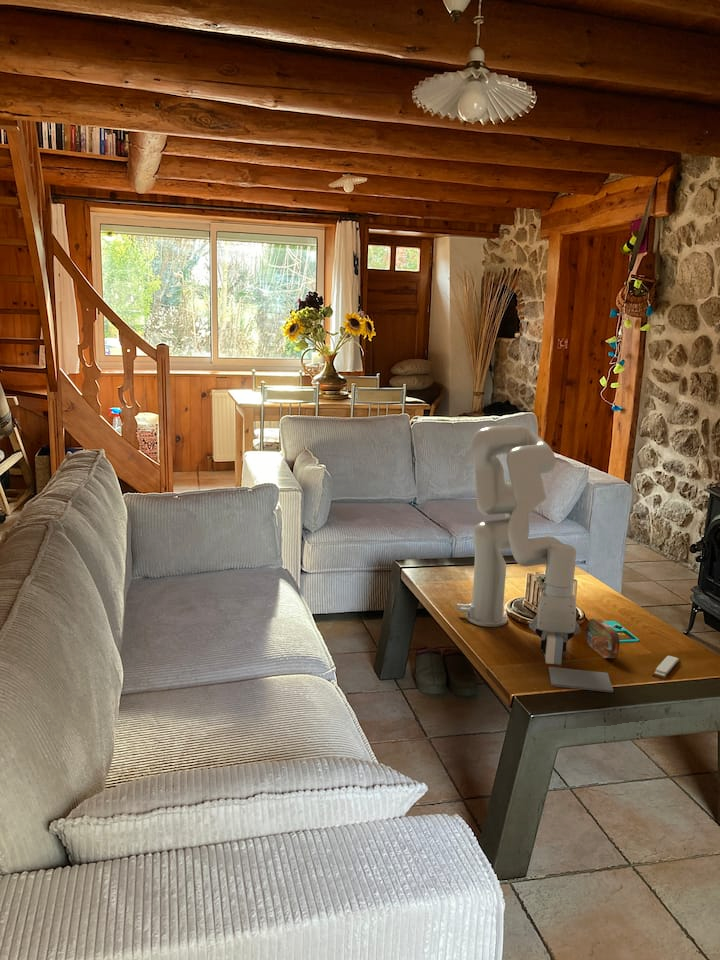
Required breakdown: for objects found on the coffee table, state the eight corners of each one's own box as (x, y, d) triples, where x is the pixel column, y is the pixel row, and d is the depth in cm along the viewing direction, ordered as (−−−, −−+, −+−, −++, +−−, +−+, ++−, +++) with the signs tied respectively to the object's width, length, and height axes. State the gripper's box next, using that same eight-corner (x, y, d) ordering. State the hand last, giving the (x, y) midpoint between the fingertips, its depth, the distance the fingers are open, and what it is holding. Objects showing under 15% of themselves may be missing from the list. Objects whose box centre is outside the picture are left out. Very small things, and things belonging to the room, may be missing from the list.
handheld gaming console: (615, 619, 235) (640, 639, 220) (615, 622, 235) (640, 643, 220) (590, 620, 233) (613, 640, 219) (589, 623, 234) (613, 644, 219)
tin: (583, 641, 219) (586, 613, 218) (593, 640, 220) (596, 613, 218) (609, 663, 205) (612, 634, 203) (619, 663, 205) (622, 634, 204)
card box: (545, 663, 204) (548, 638, 202) (543, 649, 212) (545, 626, 211) (561, 664, 203) (563, 640, 202) (558, 651, 212) (560, 627, 210)
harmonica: (667, 659, 210) (668, 652, 209) (679, 662, 208) (680, 656, 208) (652, 677, 198) (652, 670, 198) (664, 681, 197) (664, 674, 196)
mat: (551, 685, 191) (551, 683, 191) (548, 668, 200) (548, 666, 200) (613, 692, 188) (613, 690, 188) (607, 674, 198) (607, 672, 198)
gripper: (527, 591, 202) (522, 655, 205) (592, 597, 199) (585, 661, 203) (526, 582, 209) (521, 644, 212) (588, 587, 206) (582, 650, 210)
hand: (552, 652), depth 207 cm, fingers closed on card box, 4 cm apart
